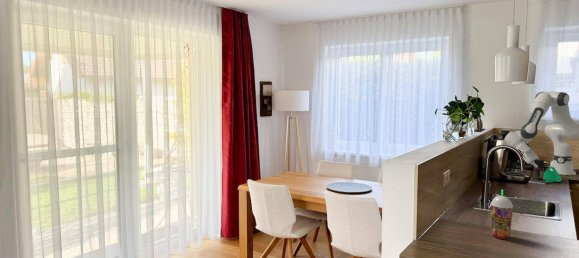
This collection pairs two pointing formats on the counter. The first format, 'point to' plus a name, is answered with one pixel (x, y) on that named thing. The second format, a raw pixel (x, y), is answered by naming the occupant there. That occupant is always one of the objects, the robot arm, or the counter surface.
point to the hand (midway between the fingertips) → (539, 166)
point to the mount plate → (538, 181)
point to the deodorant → (538, 170)
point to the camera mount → (551, 175)
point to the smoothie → (501, 216)
